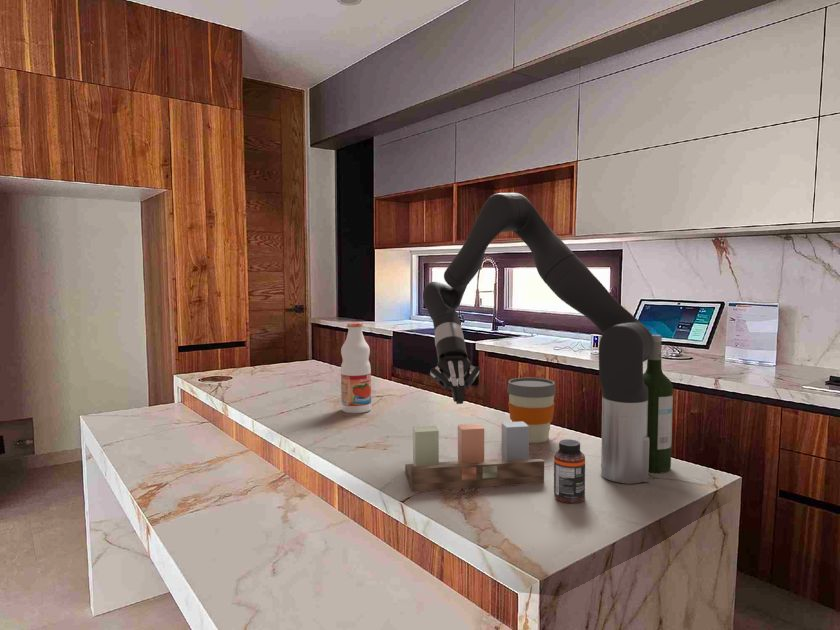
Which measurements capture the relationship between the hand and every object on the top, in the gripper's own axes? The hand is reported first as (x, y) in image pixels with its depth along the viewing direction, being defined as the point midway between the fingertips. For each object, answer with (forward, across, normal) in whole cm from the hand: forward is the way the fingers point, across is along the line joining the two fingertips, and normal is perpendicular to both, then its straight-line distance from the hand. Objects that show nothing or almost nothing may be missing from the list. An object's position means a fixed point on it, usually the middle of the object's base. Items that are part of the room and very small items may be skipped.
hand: (460, 402), depth 136 cm
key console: (+19, 0, 0) cm, 19 cm away
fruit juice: (-26, -23, +45) cm, 56 cm away
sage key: (+16, -10, 0) cm, 19 cm away
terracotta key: (+16, 0, 0) cm, 16 cm away
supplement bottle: (+29, +16, -10) cm, 34 cm away
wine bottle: (+19, +41, 0) cm, 45 cm away
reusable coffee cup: (+1, +22, +18) cm, 28 cm away
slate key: (+16, +10, 0) cm, 19 cm away
